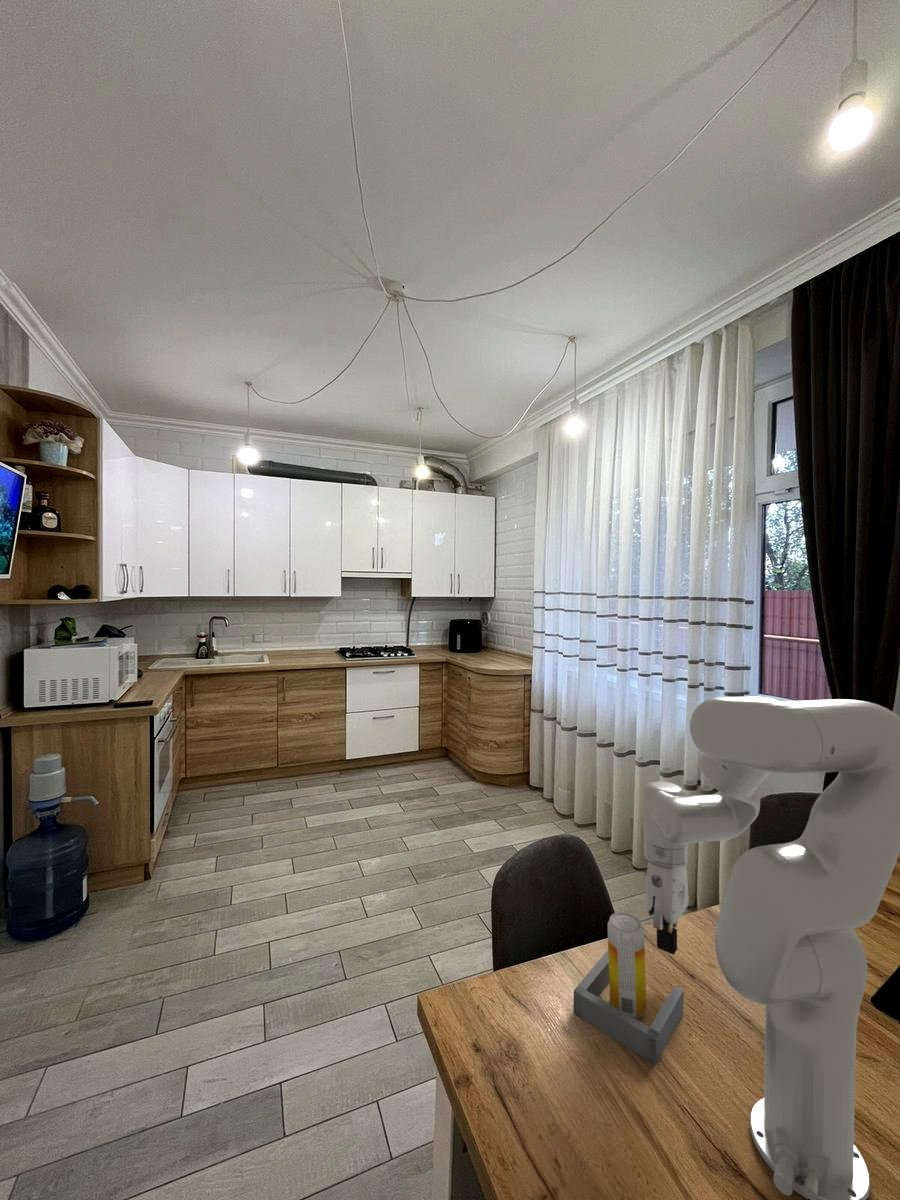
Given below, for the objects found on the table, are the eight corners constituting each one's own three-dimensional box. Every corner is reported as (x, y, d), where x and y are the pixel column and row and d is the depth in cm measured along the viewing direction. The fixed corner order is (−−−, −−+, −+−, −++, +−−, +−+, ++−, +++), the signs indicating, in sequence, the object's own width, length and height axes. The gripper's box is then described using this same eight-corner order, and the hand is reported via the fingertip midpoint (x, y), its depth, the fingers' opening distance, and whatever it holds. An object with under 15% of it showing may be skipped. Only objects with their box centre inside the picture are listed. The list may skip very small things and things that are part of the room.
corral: (655, 1065, 77) (655, 1039, 77) (573, 1013, 86) (573, 990, 86) (683, 1013, 87) (683, 990, 87) (606, 971, 96) (606, 951, 96)
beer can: (643, 996, 90) (641, 912, 90) (649, 1024, 84) (646, 934, 84) (608, 991, 91) (606, 909, 91) (611, 1018, 85) (608, 930, 86)
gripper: (673, 871, 87) (675, 980, 86) (697, 843, 98) (699, 938, 97) (630, 858, 92) (632, 960, 91) (658, 832, 103) (660, 923, 102)
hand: (667, 949), depth 94 cm, fingers closed
